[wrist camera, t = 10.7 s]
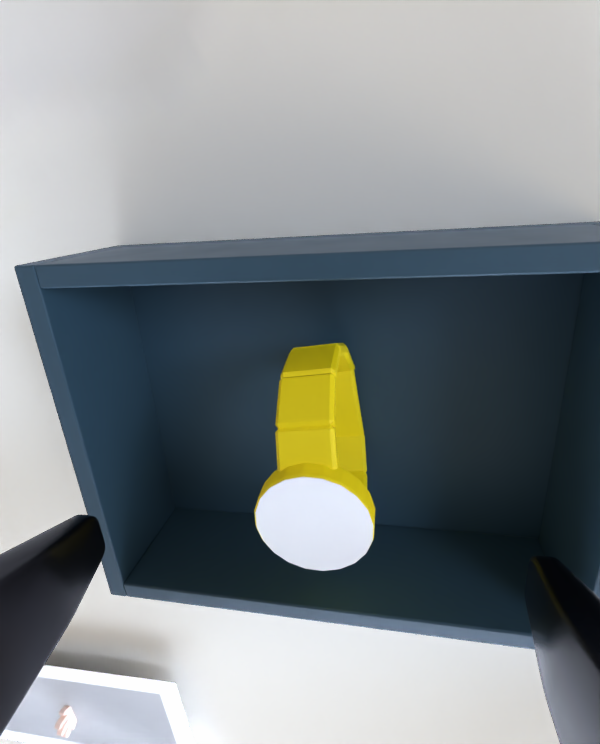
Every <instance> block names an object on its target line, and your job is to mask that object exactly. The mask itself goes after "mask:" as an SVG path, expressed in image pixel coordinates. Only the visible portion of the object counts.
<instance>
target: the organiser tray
mask: <svg viewBox="0 0 600 744" xmlns="http://www.w3.org/2000/svg"><path fill="white" fill-rule="evenodd" d="M15 271H16V275H17V278H18V281H19V285H20V288H21V292H22V295H23V298H24V302H25V305H26V308H27V312H28V315H29V318H30V322H31V325H32V329H33V332H34V335H35V339H36V342H37V345H38V349H39V352H40V356H41V359H42V362H43V366H44V369H45V372H46V376H47V379H48V382H49V386H50V389H51V393H52V396H53V399H54V403H55V406H56V409H57V413H58V416H59V420H60V423H61V426H62V430H63V433H64V436H65V440H66V443H67V447H68V450H69V453H70V457H71V460H72V463H73V467H74V470H75V473H76V477H77V480H78V484H79V487H80V490H81V494H82V497H83V500H84V504H85V507H86V511H87V514H88V515H90V516H94V517H96V518H97V519H98V521H99V524H100V528H101V531H102V534H103V538H104V541H105V552H104V555H103V558H102V560H101V561H102V564H103V568H104V571H105V575H106V578H107V581H108V585H109V588H110V591H111V594H113V595H120V596H126V595H127V596H130V597H138V598H145V599H153V600H161V601H168V602H176V603H183V604H191V605H199V606H206V607H214V608H222V609H229V610H237V611H245V612H252V613H260V614H268V615H275V616H283V617H291V618H298V619H306V620H314V621H321V622H329V623H337V624H344V625H352V626H359V627H367V628H375V629H382V630H390V631H398V632H405V633H413V634H421V635H428V636H436V637H444V638H451V639H459V640H467V641H474V642H482V643H490V644H497V645H505V646H513V647H520V648H528V649H535V646H534V641H533V636H532V632H531V627H530V622H529V617H528V612H527V607H526V602H525V583H526V577H527V571H528V565H529V560H530V558H531V557H532V556H534V555H539V556H550V557H555V558H557V559H558V560H560V561H561V562H562V563H563V564H564V565H565V566H566V567H567V568H568V569H569V570H570V571H571V572H573V573H574V574H575V575H576V576H577V577H578V578H579V579H580V580H581V581H582V582H583V583H584V584H585V585H586V586H588V587H589V588H590V589H591V590H592V591H593V592H594V593H595V594H596V595H597V596H598V597H599V598H600V222H584V223H564V224H543V225H523V226H503V227H483V228H463V229H443V230H423V231H403V232H383V233H363V234H342V235H322V236H302V237H282V238H262V239H242V240H222V241H202V242H182V243H162V244H141V245H121V246H113V247H109V248H103V249H98V250H93V251H88V252H83V253H78V254H73V255H68V256H62V257H57V258H52V259H47V260H42V261H37V262H32V263H27V264H22V265H17V266H15ZM333 343H344V344H345V345H346V346H347V348H348V350H349V353H350V355H351V358H352V361H353V364H354V365H355V369H354V372H355V379H356V385H357V392H358V398H359V404H360V411H361V417H362V423H363V430H364V436H365V447H366V462H367V472H366V473H367V490H368V491H369V492H370V494H371V497H372V500H373V503H374V506H375V527H374V539H373V541H372V543H371V545H370V547H369V549H368V551H367V553H366V554H365V555H364V556H363V557H361V558H360V559H359V560H358V561H357V562H356V563H354V564H352V565H349V566H347V567H344V568H342V569H337V570H327V571H319V570H312V569H305V568H302V567H300V566H297V565H294V564H292V563H289V562H287V561H286V560H284V559H283V558H281V557H280V556H278V555H277V554H275V553H274V552H273V551H272V550H271V549H270V548H269V547H268V546H267V545H266V543H265V542H264V541H263V540H262V538H261V536H260V534H259V532H258V530H257V528H256V525H255V514H254V510H255V506H256V503H257V500H258V497H259V495H260V492H261V490H262V487H263V485H264V483H265V481H266V480H267V479H268V478H269V477H270V476H271V474H272V473H273V472H274V471H276V470H277V454H276V437H275V432H276V431H277V430H278V428H277V427H276V425H275V423H276V412H277V401H278V390H279V381H280V380H281V377H280V376H281V373H282V370H283V368H284V365H285V363H286V360H287V358H288V355H289V353H290V351H291V350H292V349H293V348H296V347H305V346H315V345H324V344H333Z"/></svg>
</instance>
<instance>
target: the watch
mask: <svg viewBox="0 0 600 744" xmlns="http://www.w3.org/2000/svg"><path fill="white" fill-rule="evenodd" d="M354 369H355V365H354V364H353V361H352V358H351V355H350V353H349V350H348V348H347V346H346V345H345V344H344V343H333V344H324V345H315V346H305V347H296V348H293V349H292V350H291V351H290V353H289V355H288V358H287V360H286V363H285V365H284V368H283V370H282V373H281V376H280V377H281V380H280V381H279V390H278V401H277V412H276V423H275V425H276V427H277V428H278V430H277V431H276V432H275V437H276V454H277V470H276V471H274V472H273V473H272V474H271V476H270V477H269V478H268V479H267V480H266V481H265V483H264V485H263V487H262V490H261V492H260V495H259V497H258V500H257V503H256V506H255V510H254V514H255V525H256V528H257V530H258V532H259V534H260V536H261V538H262V540H263V541H264V542H265V543H266V545H267V546H268V547H269V548H270V549H271V550H272V551H273V552H274V553H275V554H277V555H278V556H280V557H281V558H283V559H284V560H286V561H287V562H289V563H292V564H294V565H297V566H300V567H302V568H305V569H312V570H319V571H327V570H337V569H342V568H344V567H347V566H349V565H352V564H354V563H356V562H357V561H358V560H359V559H360V558H361V557H363V556H364V555H365V554H366V553H367V551H368V549H369V547H370V545H371V543H372V541H373V539H374V527H375V506H374V503H373V500H372V497H371V494H370V492H369V491H368V490H367V473H366V472H367V462H366V447H365V436H364V430H363V423H362V417H361V411H360V404H359V398H358V392H357V385H356V379H355V372H354Z"/></svg>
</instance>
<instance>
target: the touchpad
mask: <svg viewBox="0 0 600 744" xmlns="http://www.w3.org/2000/svg"><path fill="white" fill-rule="evenodd" d="M0 738H1V739H7V740H12V741H17V742H23V743H28V744H195V742H194V739H193V736H192V733H191V730H190V727H189V723H188V720H187V717H186V714H185V711H184V708H183V705H182V702H181V698H180V695H179V692H178V689H177V686H176V683H175V682H169V681H161V680H154V679H146V678H139V677H132V676H124V675H117V674H109V673H102V672H94V671H87V670H80V669H72V668H65V667H57V666H50V665H44V666H43V668H42V669H41V671H40V673H39V674H38V676H37V678H36V679H35V681H34V682H33V684H32V686H31V687H30V689H29V691H28V692H27V694H26V696H25V697H24V699H23V700H22V702H21V704H20V705H19V707H18V709H17V710H16V712H15V713H14V715H13V717H12V718H11V720H10V722H9V723H8V725H7V727H6V728H5V730H4V731H3V733H2V735H1V736H0Z"/></svg>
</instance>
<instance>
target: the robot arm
mask: <svg viewBox="0 0 600 744" xmlns="http://www.w3.org/2000/svg"><path fill="white" fill-rule="evenodd" d="M104 552H105V541H104V538H103V534H102V531H101V528H100V524H99V521H98V519H97V518H96V517H94V516H90V515H76V516H74V517H72V518H70V519H68V520H66V521H64V522H63V523H61V524H59V525H57V526H55V527H53V528H51V529H49V530H47V531H45V532H43V533H41V534H39V535H37V536H35V537H33V538H32V539H30V540H28V541H26V542H24V543H22V544H20V545H18V546H16V547H14V548H12V549H10V550H8V551H6V552H4V553H2V554H1V555H0V736H1V735H2V733H3V731H4V730H5V728H6V727H7V725H8V723H9V722H10V720H11V718H12V717H13V715H14V713H15V712H16V710H17V709H18V707H19V705H20V704H21V702H22V700H23V699H24V697H25V696H26V694H27V692H28V691H29V689H30V687H31V686H32V684H33V682H34V681H35V679H36V678H37V676H38V674H39V673H40V671H41V669H42V668H43V666H44V664H45V663H46V661H47V660H48V658H49V656H50V655H51V653H52V651H53V650H54V648H55V646H56V645H57V643H58V642H59V640H60V638H61V637H62V635H63V633H64V632H65V630H66V628H67V627H68V625H69V623H70V621H71V619H72V618H73V616H74V614H75V612H76V610H77V608H78V606H79V604H80V602H81V600H82V598H83V596H84V594H85V592H86V590H87V588H88V586H89V584H90V582H91V580H92V578H93V576H94V574H95V572H96V570H97V568H98V566H99V564H100V562H101V560H102V558H103V555H104ZM525 602H526V607H527V612H528V617H529V622H530V627H531V632H532V636H533V641H534V646H535V651H536V656H537V661H538V666H539V671H540V675H541V680H542V684H543V689H544V693H545V696H546V700H547V703H548V707H549V710H550V713H551V716H552V719H553V723H554V726H555V729H556V732H557V735H558V738H559V742H560V744H600V598H599V597H598V596H597V595H596V594H595V593H594V592H593V591H592V590H591V589H590V588H589V587H588V586H586V585H585V584H584V583H583V582H582V581H581V580H580V579H579V578H578V577H577V576H576V575H575V574H574V573H573V572H571V571H570V570H569V569H568V568H567V567H566V566H565V565H564V564H563V563H562V562H561V561H560V560H558V559H557V558H555V557H550V556H539V555H534V556H532V557H531V558H530V560H529V565H528V571H527V577H526V583H525Z"/></svg>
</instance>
